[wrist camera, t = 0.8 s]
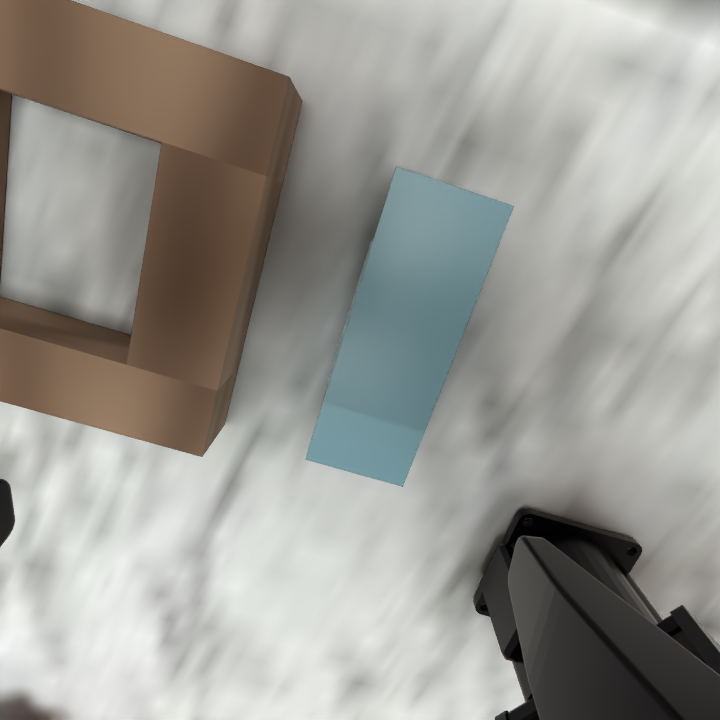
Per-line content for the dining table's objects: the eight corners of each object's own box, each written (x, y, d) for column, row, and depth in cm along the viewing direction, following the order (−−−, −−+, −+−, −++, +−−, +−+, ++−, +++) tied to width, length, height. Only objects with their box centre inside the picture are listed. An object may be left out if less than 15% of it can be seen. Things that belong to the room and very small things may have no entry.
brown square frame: (302, 101, 16) (289, 76, 14) (224, 425, 21) (202, 456, 18) (-85, -34, 15) (-185, -89, 13) (-86, 337, 19) (-161, 356, 17)
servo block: (485, 209, 18) (513, 206, 14) (396, 442, 21) (402, 486, 17) (390, 177, 17) (396, 166, 14) (315, 419, 21) (305, 459, 17)
